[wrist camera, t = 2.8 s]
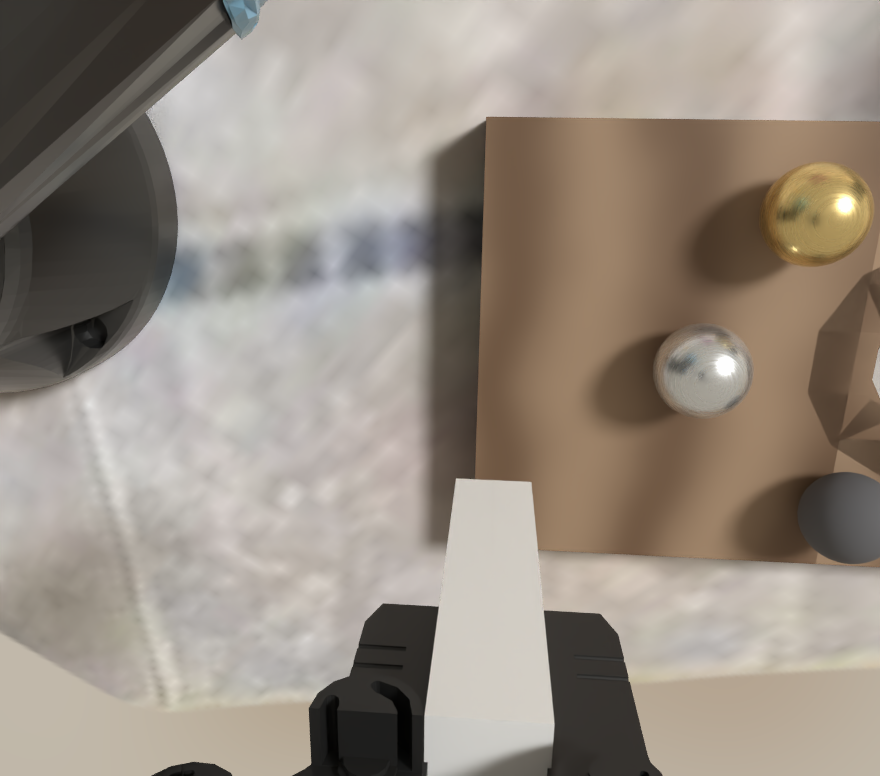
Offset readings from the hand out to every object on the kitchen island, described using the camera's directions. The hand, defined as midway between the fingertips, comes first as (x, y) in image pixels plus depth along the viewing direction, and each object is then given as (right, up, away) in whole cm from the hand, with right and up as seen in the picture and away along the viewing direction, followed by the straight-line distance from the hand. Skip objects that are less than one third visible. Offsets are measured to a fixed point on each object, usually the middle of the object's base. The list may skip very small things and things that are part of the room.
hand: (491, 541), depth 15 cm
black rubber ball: (+14, -2, +13) cm, 19 cm away
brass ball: (+11, +9, +10) cm, 17 cm away
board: (+12, +5, +15) cm, 20 cm away
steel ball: (+8, +4, +11) cm, 15 cm away
